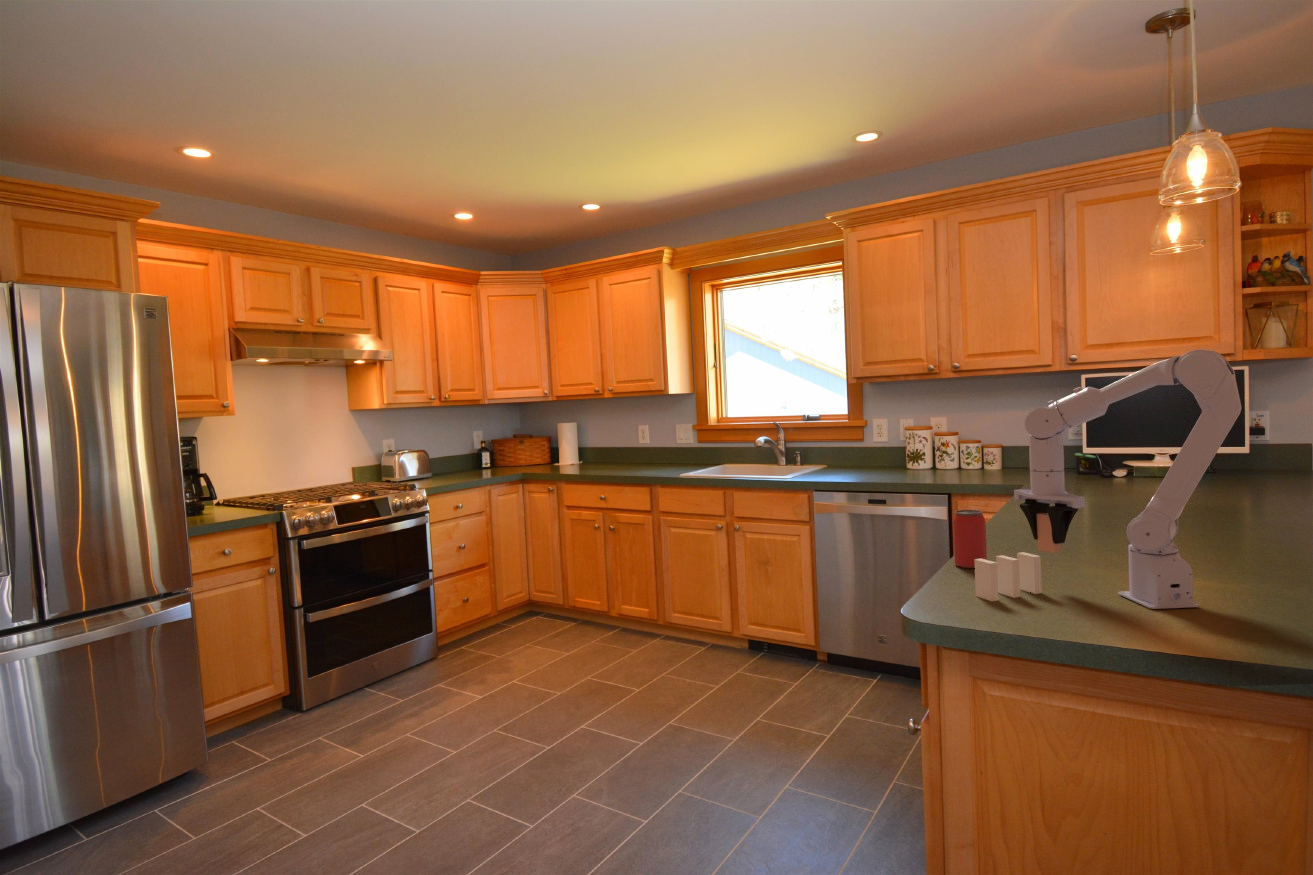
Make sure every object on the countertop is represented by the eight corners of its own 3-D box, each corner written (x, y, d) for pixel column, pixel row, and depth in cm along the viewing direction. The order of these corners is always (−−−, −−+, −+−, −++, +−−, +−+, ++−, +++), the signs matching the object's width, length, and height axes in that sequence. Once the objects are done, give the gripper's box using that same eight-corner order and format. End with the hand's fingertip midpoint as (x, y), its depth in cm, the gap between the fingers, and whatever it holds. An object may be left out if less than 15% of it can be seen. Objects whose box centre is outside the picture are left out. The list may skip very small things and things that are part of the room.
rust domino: (1043, 548, 136) (1042, 512, 136) (1061, 552, 133) (1060, 515, 132) (1037, 549, 136) (1036, 513, 136) (1055, 553, 132) (1053, 516, 132)
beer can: (989, 569, 150) (987, 514, 150) (955, 569, 152) (953, 514, 152) (985, 562, 156) (983, 509, 156) (953, 561, 159) (951, 509, 158)
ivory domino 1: (982, 594, 132) (980, 558, 132) (998, 600, 129) (997, 562, 128) (975, 596, 132) (974, 559, 132) (991, 601, 128) (990, 563, 128)
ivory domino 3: (1024, 587, 135) (1023, 552, 135) (1041, 592, 132) (1040, 556, 131) (1018, 588, 135) (1017, 553, 135) (1035, 593, 131) (1033, 557, 131)
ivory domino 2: (1003, 591, 134) (1002, 555, 134) (1020, 596, 130) (1018, 559, 130) (997, 592, 133) (996, 556, 133) (1013, 597, 130) (1012, 560, 129)
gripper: (1097, 471, 128) (1099, 545, 129) (1032, 466, 142) (1035, 532, 142) (1066, 474, 126) (1069, 549, 126) (1004, 468, 140) (1007, 536, 140)
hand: (1049, 540), depth 134 cm, fingers closed on rust domino, 4 cm apart
